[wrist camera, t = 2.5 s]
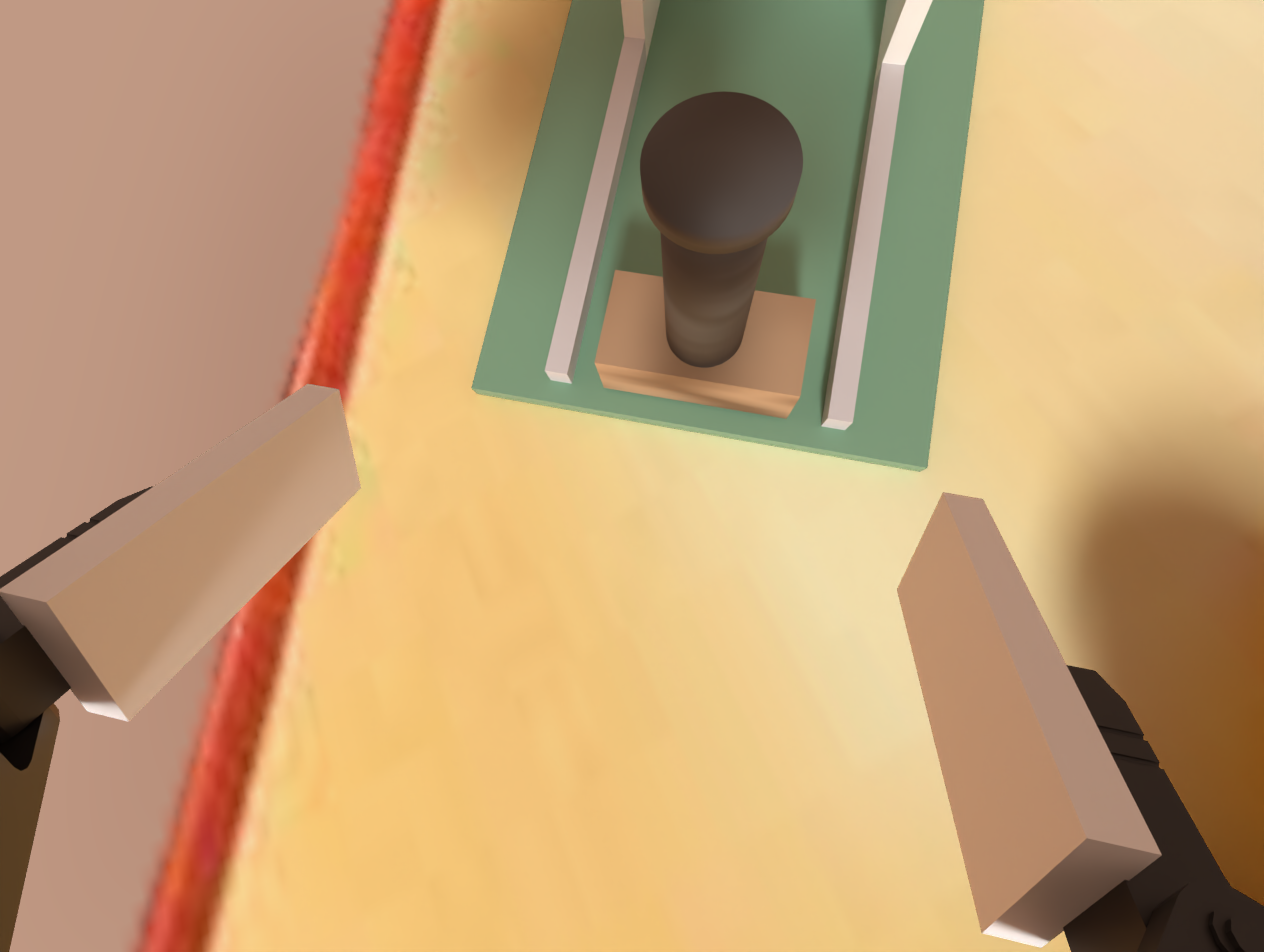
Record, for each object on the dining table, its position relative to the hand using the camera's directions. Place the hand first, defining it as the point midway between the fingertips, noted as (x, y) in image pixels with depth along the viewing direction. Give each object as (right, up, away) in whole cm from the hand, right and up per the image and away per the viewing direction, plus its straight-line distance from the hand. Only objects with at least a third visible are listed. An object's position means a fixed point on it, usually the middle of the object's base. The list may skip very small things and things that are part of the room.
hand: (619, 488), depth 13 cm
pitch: (+5, +15, +16) cm, 22 cm away
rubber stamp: (+3, +5, +14) cm, 15 cm away
